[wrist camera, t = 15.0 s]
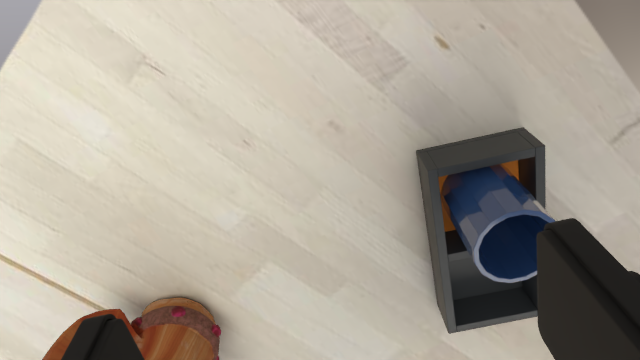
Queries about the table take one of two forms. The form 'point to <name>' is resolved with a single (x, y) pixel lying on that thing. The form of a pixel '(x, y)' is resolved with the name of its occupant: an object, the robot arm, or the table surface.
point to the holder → (449, 250)
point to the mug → (161, 331)
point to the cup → (496, 221)
